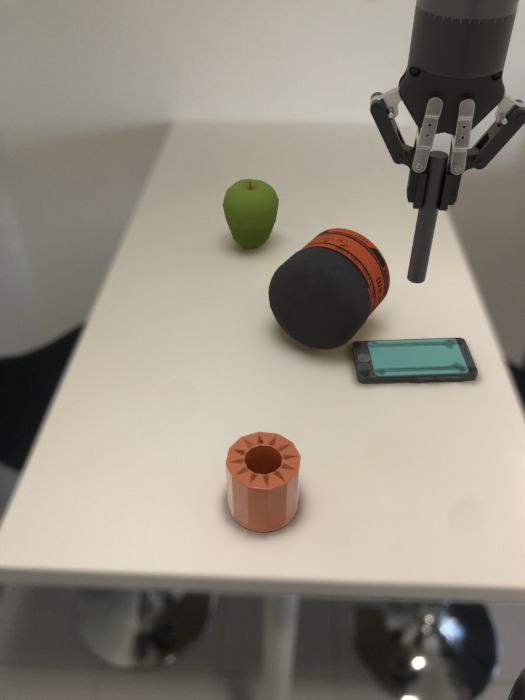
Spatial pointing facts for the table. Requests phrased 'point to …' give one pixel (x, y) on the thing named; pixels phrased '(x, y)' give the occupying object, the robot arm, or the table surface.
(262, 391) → the table surface
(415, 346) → the smartphone
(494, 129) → the robot arm
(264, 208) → the apple
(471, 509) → the table surface
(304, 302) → the oil filter
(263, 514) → the pen pot
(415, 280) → the stylus
